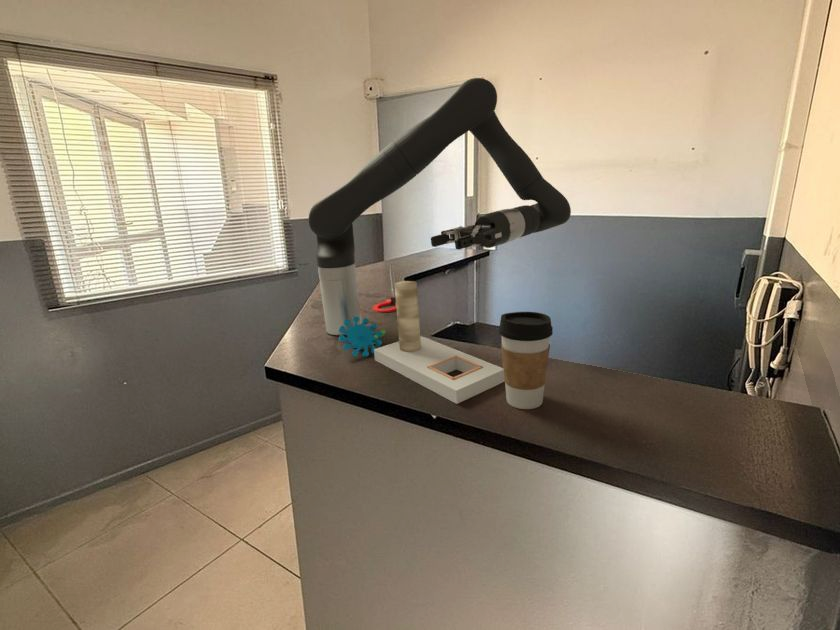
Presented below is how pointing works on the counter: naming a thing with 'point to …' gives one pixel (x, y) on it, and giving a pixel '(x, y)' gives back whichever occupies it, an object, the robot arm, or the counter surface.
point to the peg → (408, 316)
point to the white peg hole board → (441, 369)
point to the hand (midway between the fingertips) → (443, 243)
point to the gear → (361, 336)
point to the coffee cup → (525, 356)
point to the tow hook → (388, 302)
